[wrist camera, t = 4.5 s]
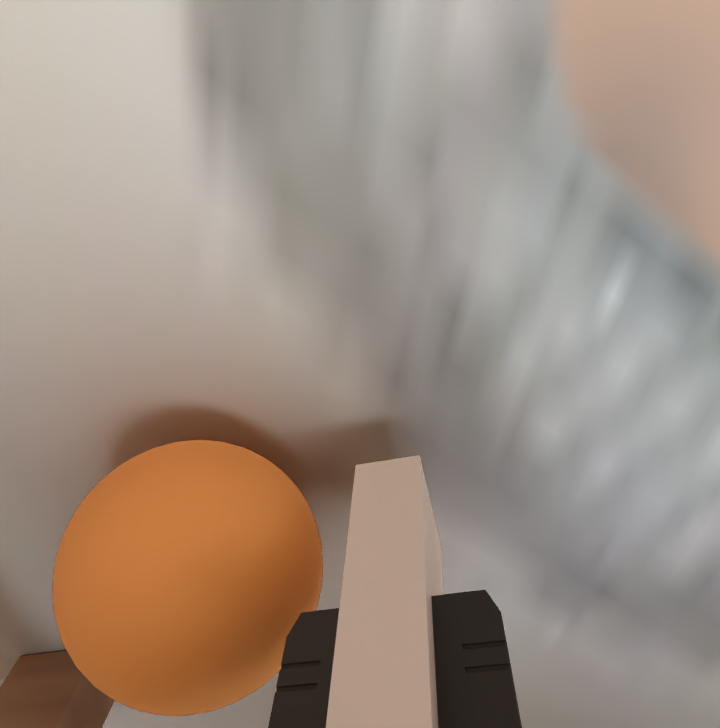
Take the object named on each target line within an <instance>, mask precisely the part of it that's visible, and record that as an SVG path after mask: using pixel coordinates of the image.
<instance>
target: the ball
mask: <svg viewBox="0 0 720 728" xmlns="http://www.w3.org/2000/svg"><path fill="white" fill-rule="evenodd" d="M322 577H323V556H322V545H321V540H320V536H319V532H318V528H317V524H316V521H315V518H314V516H313V514H312V511H311V509H310V507H309V505H308V503H307V501H306V500H305V498H304V496H303V495H302V493H301V492H300V490H299V489H298V487H297V486H296V485H295V484H294V483H293V481H292V480H291V479H290V478H289V477H288V476H287V475H286V474H285V473H284V472H283V471H282V470H281V469H279V468H278V467H277V466H276V465H274V464H273V463H272V462H270V461H269V460H267V459H266V458H264V457H262V456H260V455H258V454H256V453H254V452H252V451H250V450H248V449H246V448H243V447H240V446H237V445H233V444H229V443H226V442H220V441H211V440H188V441H180V442H174V443H170V444H166V445H162V446H159V447H155V448H152V449H150V450H148V451H145V452H143V453H141V454H139V455H137V456H135V457H133V458H131V459H129V460H127V461H126V462H124V463H123V464H121V465H119V466H118V467H117V468H116V469H114V470H113V471H112V472H111V473H109V474H108V475H107V476H106V477H104V478H103V479H102V480H101V481H100V482H99V483H98V484H97V485H96V486H95V487H94V488H93V489H92V490H91V491H90V492H89V494H88V495H87V496H86V497H85V498H84V500H83V501H82V503H81V504H80V505H79V507H78V508H77V510H76V511H75V513H74V515H73V517H72V518H71V520H70V522H69V524H68V526H67V528H66V530H65V533H64V535H63V537H62V540H61V543H60V546H59V549H58V552H57V556H56V561H55V566H54V572H53V586H52V594H53V609H54V614H55V620H56V624H57V627H58V631H59V634H60V636H61V639H62V642H63V645H64V647H65V648H66V650H67V652H68V653H69V655H70V657H71V659H72V660H73V662H74V664H75V665H76V667H77V668H78V669H79V670H80V672H81V673H82V674H83V675H84V676H85V677H86V678H87V679H88V680H89V681H90V682H91V683H92V684H93V685H94V687H96V688H97V689H99V690H100V691H101V692H103V693H104V694H106V695H107V696H109V697H110V698H112V699H113V700H115V701H116V702H118V703H121V704H123V705H125V706H128V707H130V708H133V709H136V710H139V711H141V712H146V713H151V714H156V715H166V716H186V715H194V714H200V713H205V712H210V711H213V710H216V709H219V708H222V707H224V706H227V705H230V704H232V703H235V702H236V701H238V700H240V699H242V698H244V697H246V696H247V695H249V694H251V693H252V692H254V691H256V690H257V689H258V688H260V687H261V686H263V685H264V684H265V683H266V682H267V681H268V680H269V679H271V678H272V677H273V676H274V675H275V674H276V673H277V672H278V671H279V670H280V669H281V662H282V657H283V652H284V647H285V642H286V637H287V635H288V634H289V632H290V630H291V629H292V627H293V625H294V624H295V622H296V620H297V619H298V617H299V616H300V614H301V612H310V611H316V608H317V604H318V601H319V596H320V592H321V586H322Z"/></svg>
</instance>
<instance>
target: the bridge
mask: <svg viewBox="0 0 720 728" xmlns="http://www.w3.org/2000/svg"><path fill="white" fill-rule="evenodd" d="M113 702H114V700H113V699H112V698H110V697H109V696H107V695H106V694H104V693H103V692H101V691H100V690H99V689H97V688H96V687H94V685H93V684H92V683H91V682H90V681H89V680H88V679H87V678H86V677H85V676H84V675H83V674H82V673H81V672H80V670H79V669H78V668H77V667H76V665H75V664H74V662H73V660H72V659H71V657H70V655H69V653H68V652H67V651H59V652H51V653H42V654H34V655H26V656H20V658H19V659H18V661H17V662H16V664H15V665H14V667H13V668H12V670H11V672H10V673H9V675H8V676H7V678H6V679H5V681H4V682H3V684H2V686H1V687H0V728H102V726H103V724H104V722H105V720H106V717H107V715H108V713H109V711H110V709H111V706H112V704H113Z"/></svg>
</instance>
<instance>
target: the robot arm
mask: <svg viewBox="0 0 720 728" xmlns="http://www.w3.org/2000/svg"><path fill="white" fill-rule="evenodd" d="M268 728H522V726H521V720H520V715H519V709H518V703H517V698H516V692H515V687H514V681H513V676H512V670H511V664H510V659H509V654H508V648H507V643H506V637H505V632H504V626H503V621H502V616H501V612H500V610H499V609H498V607H497V606H496V605H495V603H494V602H493V600H492V599H491V597H490V596H489V595H488V593H487V592H486V590H479V591H471V592H462V593H453V594H445V595H444V585H443V572H442V559H441V547H440V541H439V536H438V532H437V528H436V523H435V519H434V515H433V510H432V506H431V502H430V497H429V493H428V489H427V485H426V480H425V476H424V472H423V467H422V463H421V459H420V455H417V456H410V457H404V458H397V459H391V460H384V461H378V462H371V463H365V464H358V465H356V466H355V475H354V484H353V492H352V501H351V510H350V519H349V527H348V536H347V545H346V554H345V563H344V571H343V580H342V589H341V598H340V606H339V608H336V609H328V610H319V611H310V612H301V614H300V616H299V617H298V619H297V620H296V622H295V624H294V625H293V627H292V629H291V630H290V632H289V634H288V635H287V637H286V642H285V647H284V652H283V657H282V662H281V670H280V672H279V677H278V682H277V692H275V697H274V702H273V707H272V712H271V717H270V722H269V727H268Z"/></svg>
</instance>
